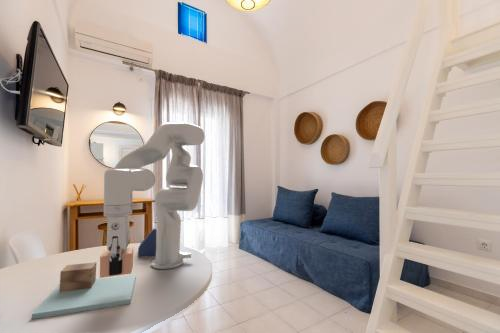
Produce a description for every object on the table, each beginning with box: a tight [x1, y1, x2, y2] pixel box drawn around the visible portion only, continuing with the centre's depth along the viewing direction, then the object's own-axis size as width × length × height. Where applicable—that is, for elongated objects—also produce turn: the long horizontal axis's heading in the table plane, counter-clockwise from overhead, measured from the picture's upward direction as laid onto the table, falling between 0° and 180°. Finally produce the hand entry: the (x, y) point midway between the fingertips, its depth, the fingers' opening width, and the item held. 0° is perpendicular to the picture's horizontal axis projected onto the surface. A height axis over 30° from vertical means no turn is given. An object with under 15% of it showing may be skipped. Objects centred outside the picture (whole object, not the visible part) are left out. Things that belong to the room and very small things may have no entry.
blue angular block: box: [137, 226, 157, 258], centre depth 113 cm, size 12×12×12 cm
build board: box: [31, 274, 137, 320], centre depth 71 cm, size 22×18×1 cm
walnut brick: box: [59, 262, 97, 292], centre depth 74 cm, size 8×6×6 cm
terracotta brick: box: [99, 247, 134, 279], centre depth 71 cm, size 8×6×6 cm
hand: (117, 269), depth 71 cm, fingers closed on terracotta brick, 5 cm apart
